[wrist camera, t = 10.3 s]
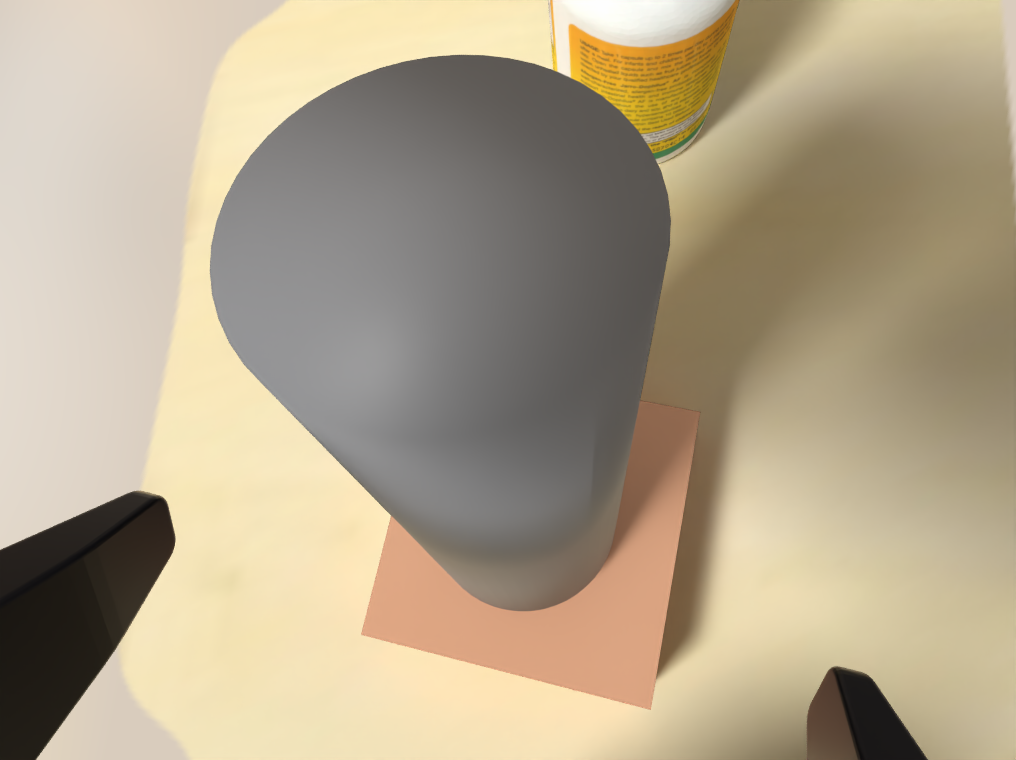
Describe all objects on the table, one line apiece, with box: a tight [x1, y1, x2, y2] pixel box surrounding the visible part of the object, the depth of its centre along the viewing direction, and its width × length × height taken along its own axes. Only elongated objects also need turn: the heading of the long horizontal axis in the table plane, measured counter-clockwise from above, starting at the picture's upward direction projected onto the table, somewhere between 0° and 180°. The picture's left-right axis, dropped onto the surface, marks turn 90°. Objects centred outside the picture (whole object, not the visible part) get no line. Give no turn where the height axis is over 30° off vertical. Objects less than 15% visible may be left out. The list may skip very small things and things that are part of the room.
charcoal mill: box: [210, 55, 671, 611], centre depth 14 cm, size 5×5×13 cm
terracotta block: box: [361, 401, 700, 710], centre depth 21 cm, size 8×8×3 cm
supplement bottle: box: [548, 0, 739, 164], centre depth 21 cm, size 5×5×10 cm
